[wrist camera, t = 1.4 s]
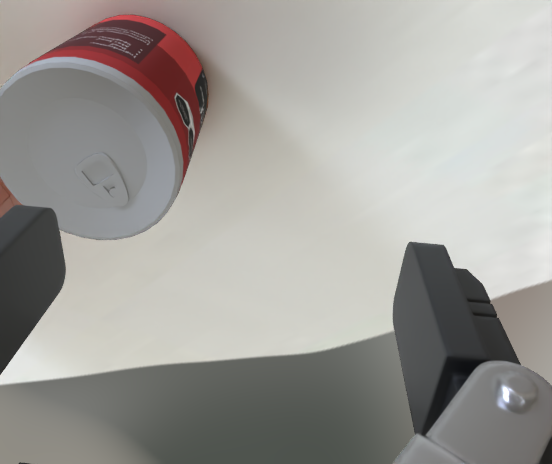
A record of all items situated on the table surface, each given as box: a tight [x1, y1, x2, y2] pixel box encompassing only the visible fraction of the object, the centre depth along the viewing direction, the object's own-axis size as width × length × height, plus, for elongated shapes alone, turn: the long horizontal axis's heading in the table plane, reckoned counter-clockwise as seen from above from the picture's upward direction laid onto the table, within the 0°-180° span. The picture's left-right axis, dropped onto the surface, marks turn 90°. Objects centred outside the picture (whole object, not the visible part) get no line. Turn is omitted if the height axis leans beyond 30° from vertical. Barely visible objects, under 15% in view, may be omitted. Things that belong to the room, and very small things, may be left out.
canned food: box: [0, 15, 208, 240], centre depth 25 cm, size 8×8×11 cm
